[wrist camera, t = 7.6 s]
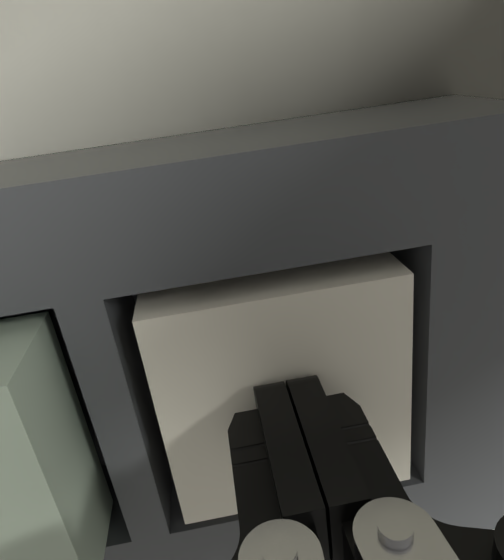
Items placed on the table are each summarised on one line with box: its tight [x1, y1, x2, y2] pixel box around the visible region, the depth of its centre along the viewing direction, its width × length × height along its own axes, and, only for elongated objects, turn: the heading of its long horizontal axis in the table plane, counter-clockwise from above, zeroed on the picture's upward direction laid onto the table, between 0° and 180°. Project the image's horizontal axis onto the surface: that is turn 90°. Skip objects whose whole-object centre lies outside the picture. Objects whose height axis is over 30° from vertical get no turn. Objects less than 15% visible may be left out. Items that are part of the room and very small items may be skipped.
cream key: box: [132, 252, 414, 524], centre depth 13 cm, size 6×6×3 cm
